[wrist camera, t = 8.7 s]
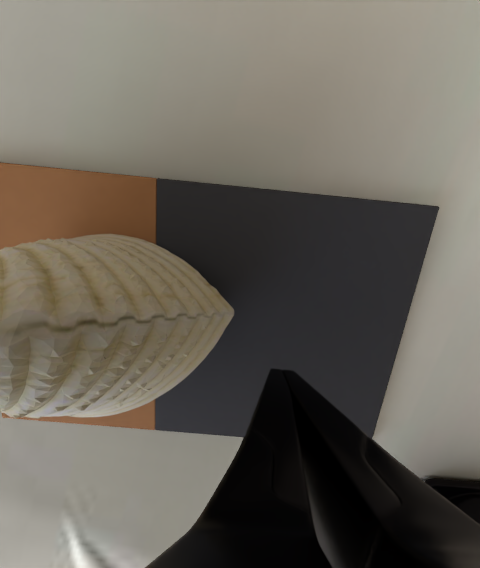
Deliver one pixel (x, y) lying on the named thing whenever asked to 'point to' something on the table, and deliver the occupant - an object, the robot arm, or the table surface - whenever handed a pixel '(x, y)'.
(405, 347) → the table surface
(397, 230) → the desk pad
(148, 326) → the seashell
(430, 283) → the table surface
